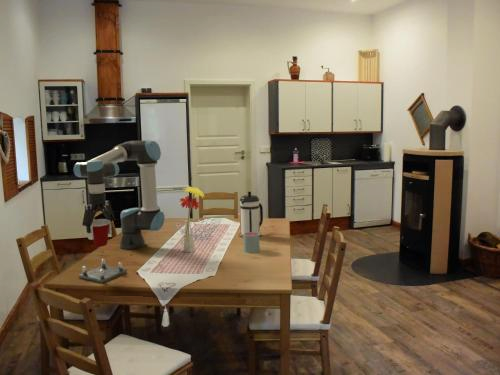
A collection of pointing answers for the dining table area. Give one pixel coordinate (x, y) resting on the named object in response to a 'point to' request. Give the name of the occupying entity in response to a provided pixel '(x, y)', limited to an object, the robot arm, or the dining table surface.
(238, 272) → the dining table surface
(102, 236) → the plastic cup
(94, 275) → the chassis
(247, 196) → the coffee press
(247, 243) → the mug
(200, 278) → the dining table surface
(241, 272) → the dining table surface
